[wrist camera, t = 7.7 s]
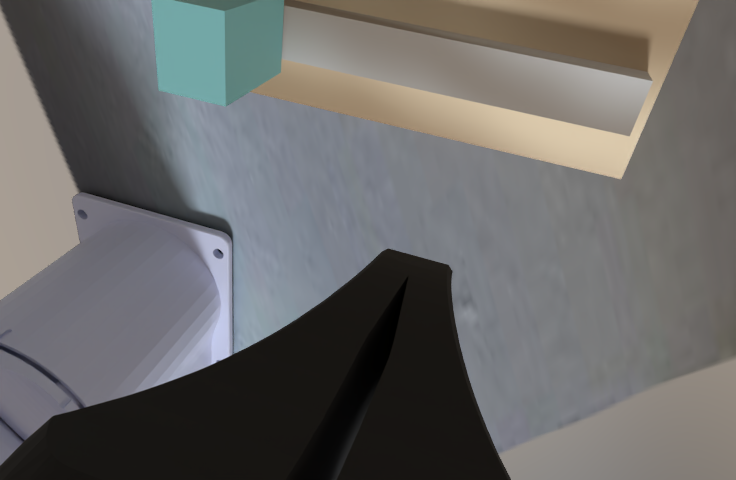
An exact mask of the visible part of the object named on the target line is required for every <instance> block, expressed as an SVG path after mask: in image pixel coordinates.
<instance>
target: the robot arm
mask: <svg viewBox="0 0 736 480" xmlns="http://www.w3.org/2000/svg"><path fill="white" fill-rule="evenodd" d="M72 203H73V208H74V213H75V219H76V224H77V229H78V235H79V240H80V244H78V245H77V246H76V247H74V248H73V249H71V250H70V251H69V252H67V253H66V254H64V255H63V256H62V257H60V258H59V259H58V260H56V261H55V262H53V263H52V264H51V265H49V266H48V267H46V268H45V269H43V270H42V271H40V272H39V273H38V274H36V275H35V276H33V277H32V278H31V279H30V280H28V281H27V282H25V283H24V284H22V285H21V286H19V287H18V288H17V289H15V290H14V291H12V292H11V293H10V294H8V295H7V296H6V297H4V298H3V299H1V300H0V480H511V479H510V477H509V475H508V473H507V471H506V469H505V467H504V465H503V463H502V461H501V459H500V457H499V455H498V453H497V451H496V448H495V446H494V444H493V441H492V439H491V437H490V434H489V432H488V430H487V427H486V425H485V423H484V420H483V417H482V415H481V412H480V409H479V407H478V404H477V402H476V399H475V396H474V393H473V390H472V387H471V384H470V381H469V377H468V374H467V370H466V367H465V363H464V360H463V356H462V352H461V348H460V344H459V339H458V334H457V329H456V324H455V318H454V312H453V303H452V292H451V278H452V270H451V268H450V267H449V265H446V264H443V263H439V262H435V261H432V260H428V259H424V258H421V257H417V256H413V255H410V254H406V253H402V252H399V251H395V250H391V249H386V250H384V251H382V252H381V253H380V254H379V255H378V256H377V257H376V258H375V259H374V260H373V261H372V262H371V263H370V264H369V265H367V266H366V267H365V268H364V269H363V270H362V271H361V272H359V273H358V274H357V275H356V276H355V277H354V278H352V279H351V280H350V281H349V282H347V283H346V284H345V285H344V286H342V287H341V288H340V289H338V290H337V291H336V292H335V293H333V294H332V295H331V296H329V297H328V298H327V299H325V300H324V301H323V302H321V303H320V304H318V305H317V306H315V307H314V308H312V309H311V310H310V311H308V312H307V313H305V314H304V315H302V316H301V317H299V318H298V319H296V320H295V321H293V322H292V323H290V324H288V325H287V326H285V327H283V328H282V329H280V330H279V331H277V332H275V333H273V334H272V335H270V336H268V337H266V338H264V339H263V340H261V341H259V342H257V343H255V344H253V345H251V346H250V347H248V348H246V349H243V350H241V351H239V352H237V353H235V354H233V324H232V241H231V239H230V237H229V236H228V235H227V234H226V233H224V232H222V231H218V230H215V229H211V228H208V227H204V226H201V225H197V224H193V223H190V222H186V221H183V220H179V219H176V218H172V217H169V216H165V215H162V214H158V213H155V212H151V211H148V210H144V209H140V208H137V207H133V206H130V205H126V204H123V203H119V202H116V201H112V200H109V199H105V198H102V197H98V196H95V195H91V194H87V193H83V192H81V193H79V194H77V195H75V196H74V197H73V199H72ZM84 211H85V212H86V213H87V214H86V213H85V212H84ZM218 249H219V250H221V251H222V252H223V254H221V253H220V252H219V251H218Z"/></svg>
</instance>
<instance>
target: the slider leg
mask: <svg viewBox="0 0 736 480" xmlns="http://www.w3.org/2000/svg"><path fill="white" fill-rule="evenodd" d="M151 1H152V14H153V27H154V39H155V52H156V64H157V77H158V89H159V91H164V92H168V93H172V94H176V95H180V96H184V97H188V98H193V99H197V100H201V101H205V102H209V103H213V104H217V105H221V106H227V105H229V104H231V103H232V102H234V101H235V100H237V99H239V98H240V97H242V96H244V95H245V94H247V93H248V92H250V91H252V90H253V89H255V88H257V87H258V86H260V85H262V84H263V83H265V82H266V81H268V80H270V79H271V78H273V77H275V76H276V75H278V74H279V73H281V59H282V37H283V15H284V0H151Z"/></svg>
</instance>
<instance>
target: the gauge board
mask: <svg viewBox="0 0 736 480" xmlns="http://www.w3.org/2000/svg"><path fill="white" fill-rule="evenodd" d="M698 1H699V0H284V15H283V37H282V59H281V73H279V74H278V75H276V76H275V77H273V78H271V79H270V80H268V81H266V82H265V83H263V84H262V85H260V86H258V87H257V88H255V89H253V90H252V91H250V92H253V93H257V94H261V95H265V96H270V97H274V98H278V99H282V100H287V101H291V102H295V103H299V104H304V105H308V106H312V107H316V108H321V109H325V110H329V111H333V112H338V113H342V114H346V115H350V116H355V117H359V118H363V119H367V120H372V121H376V122H380V123H384V124H389V125H393V126H397V127H401V128H406V129H410V130H414V131H418V132H423V133H427V134H431V135H435V136H440V137H444V138H448V139H452V140H457V141H461V142H465V143H469V144H474V145H478V146H482V147H486V148H491V149H495V150H499V151H503V152H508V153H512V154H516V155H520V156H525V157H529V158H533V159H537V160H542V161H546V162H550V163H554V164H559V165H563V166H567V167H571V168H576V169H580V170H584V171H588V172H593V173H597V174H601V175H605V176H610V177H614V178H618V179H622V176H623V174H624V172H625V169H626V167H627V165H628V162H629V160H630V158H631V155H632V153H633V151H634V149H635V146H636V144H637V142H638V139H639V137H640V135H641V132H642V130H643V128H644V126H645V123H646V121H647V119H648V116H649V114H650V112H651V109H652V107H653V105H654V102H655V100H656V98H657V96H658V93H659V91H660V89H661V86H662V84H663V82H664V79H665V77H666V75H667V73H668V70H669V68H670V66H671V63H672V61H673V59H674V56H675V54H676V52H677V49H678V47H679V45H680V43H681V40H682V38H683V36H684V33H685V31H686V29H687V26H688V24H689V22H690V20H691V17H692V15H693V13H694V10H695V8H696V6H697V3H698Z"/></svg>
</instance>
